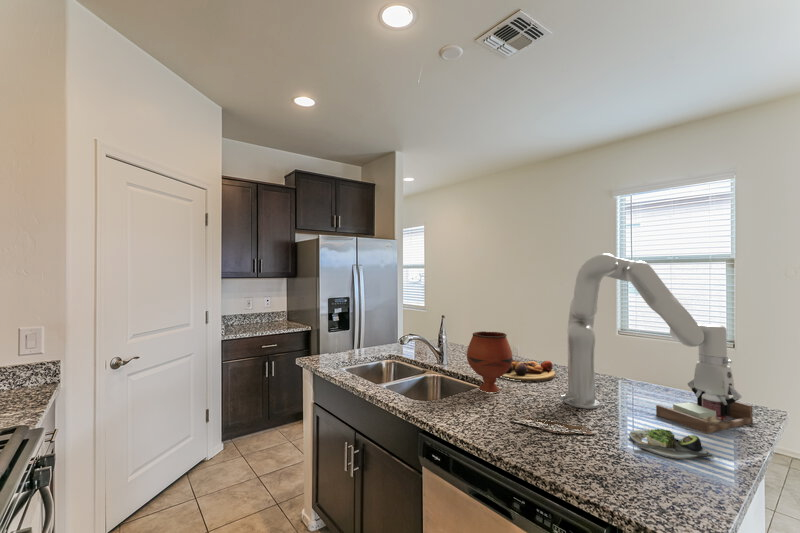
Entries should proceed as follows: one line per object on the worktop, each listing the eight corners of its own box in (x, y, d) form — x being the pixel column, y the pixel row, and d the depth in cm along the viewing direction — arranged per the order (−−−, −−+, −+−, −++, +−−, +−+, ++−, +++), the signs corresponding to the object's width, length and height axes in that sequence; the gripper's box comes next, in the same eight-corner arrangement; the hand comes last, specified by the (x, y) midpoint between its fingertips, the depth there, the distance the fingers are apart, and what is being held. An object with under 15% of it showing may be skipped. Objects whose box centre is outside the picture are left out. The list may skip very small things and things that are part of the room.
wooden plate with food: (556, 370, 193) (555, 354, 194) (554, 386, 164) (554, 367, 165) (495, 364, 206) (494, 350, 207) (483, 379, 177) (483, 362, 178)
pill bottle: (729, 425, 122) (728, 392, 122) (706, 423, 124) (706, 390, 124) (720, 418, 127) (720, 387, 128) (698, 416, 130) (698, 385, 130)
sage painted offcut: (699, 418, 117) (699, 413, 117) (673, 408, 125) (673, 404, 125) (716, 415, 119) (716, 411, 119) (689, 406, 127) (689, 402, 127)
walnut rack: (707, 438, 112) (706, 415, 112) (656, 419, 127) (656, 399, 127) (752, 426, 121) (752, 405, 121) (700, 410, 135) (699, 391, 135)
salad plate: (657, 465, 97) (657, 448, 97) (612, 435, 115) (612, 421, 115) (723, 462, 99) (723, 445, 99) (669, 433, 116) (669, 419, 116)
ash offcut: (705, 423, 116) (704, 418, 116) (670, 413, 125) (670, 408, 125) (716, 418, 120) (716, 414, 120) (682, 409, 129) (682, 404, 129)
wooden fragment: (593, 429, 120) (593, 425, 120) (595, 443, 110) (595, 439, 110) (513, 415, 131) (513, 412, 131) (507, 427, 121) (507, 424, 121)
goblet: (521, 391, 156) (521, 333, 157) (494, 402, 144) (494, 338, 144) (484, 381, 171) (484, 328, 171) (457, 390, 158) (457, 332, 159)
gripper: (750, 365, 119) (751, 420, 119) (692, 354, 136) (692, 402, 135) (736, 367, 117) (737, 423, 116) (678, 355, 133) (679, 405, 132)
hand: (713, 411), depth 126 cm, fingers closed on pill bottle, 6 cm apart
